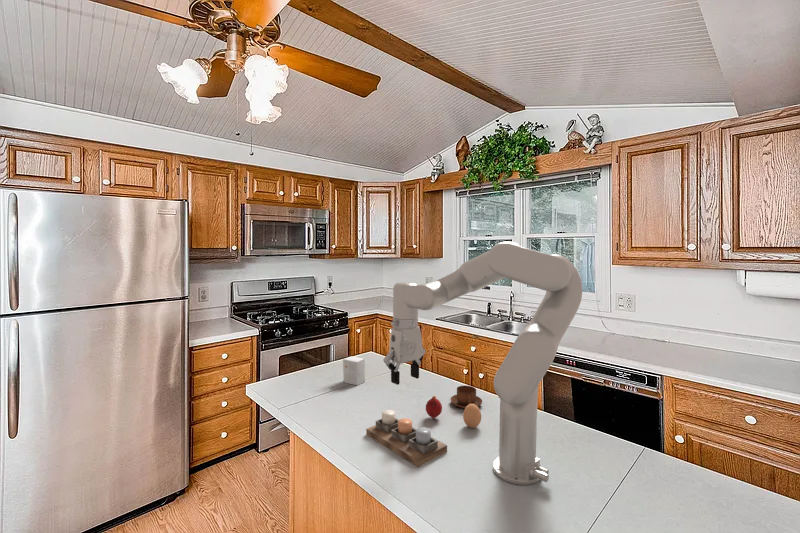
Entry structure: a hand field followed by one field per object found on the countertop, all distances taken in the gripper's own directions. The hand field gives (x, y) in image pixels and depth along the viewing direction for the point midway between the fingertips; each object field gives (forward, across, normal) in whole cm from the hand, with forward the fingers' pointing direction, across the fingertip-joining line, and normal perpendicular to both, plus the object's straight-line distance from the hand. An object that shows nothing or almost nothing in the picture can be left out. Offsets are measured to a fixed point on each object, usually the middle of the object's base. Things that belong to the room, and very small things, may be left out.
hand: (405, 379), depth 119 cm
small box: (+20, +18, +54) cm, 60 cm away
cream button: (+16, 0, +8) cm, 18 cm away
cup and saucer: (+20, +37, +6) cm, 43 cm away
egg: (+20, +24, -7) cm, 32 cm away
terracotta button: (+16, 0, 0) cm, 16 cm away
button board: (+20, 0, 0) cm, 20 cm away
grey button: (+16, 0, -8) cm, 18 cm away
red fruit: (+20, +19, +6) cm, 28 cm away
